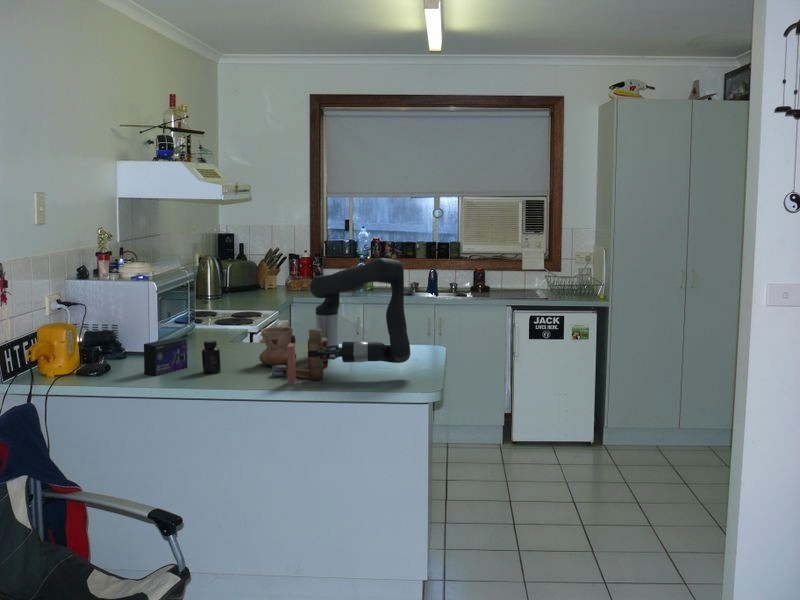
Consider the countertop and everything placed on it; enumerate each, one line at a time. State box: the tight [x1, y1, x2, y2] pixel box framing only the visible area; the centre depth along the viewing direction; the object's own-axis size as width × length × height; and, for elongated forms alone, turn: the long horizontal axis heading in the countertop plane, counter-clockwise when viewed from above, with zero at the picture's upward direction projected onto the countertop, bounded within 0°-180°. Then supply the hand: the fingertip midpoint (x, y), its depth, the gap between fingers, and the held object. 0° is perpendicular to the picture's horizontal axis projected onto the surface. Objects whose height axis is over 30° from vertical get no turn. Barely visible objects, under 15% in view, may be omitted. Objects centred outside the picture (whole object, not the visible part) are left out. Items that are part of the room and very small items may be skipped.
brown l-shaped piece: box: [272, 328, 324, 381], centre depth 328 cm, size 5×21×18 cm, turn 64°
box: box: [143, 336, 188, 376], centre depth 343 cm, size 17×7×12 cm, turn 149°
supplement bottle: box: [201, 339, 222, 375], centre depth 340 cm, size 7×7×12 cm
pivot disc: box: [271, 369, 288, 378], centre depth 332 cm, size 6×6×2 cm
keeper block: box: [286, 342, 298, 387], centre depth 319 cm, size 7×3×14 cm, turn 0°
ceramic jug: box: [259, 326, 297, 367], centre depth 352 cm, size 18×14×14 cm
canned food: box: [307, 337, 329, 369], centre depth 347 cm, size 8×8×11 cm
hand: (308, 352), depth 324 cm, fingers closed on brown l-shaped piece, 5 cm apart
